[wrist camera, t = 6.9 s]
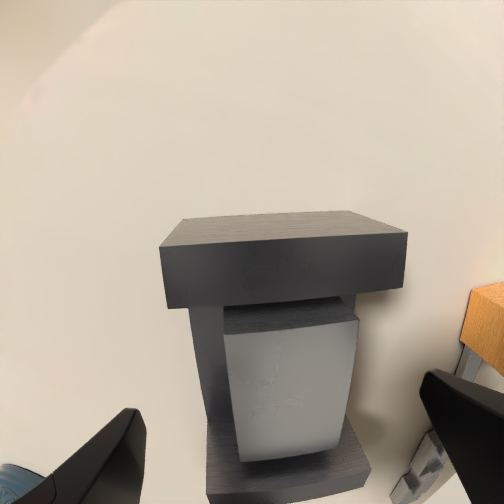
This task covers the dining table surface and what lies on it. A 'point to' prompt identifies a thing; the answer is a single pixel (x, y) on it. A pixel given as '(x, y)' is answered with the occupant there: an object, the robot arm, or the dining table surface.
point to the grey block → (289, 374)
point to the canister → (15, 482)
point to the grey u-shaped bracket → (266, 291)
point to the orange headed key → (476, 348)
